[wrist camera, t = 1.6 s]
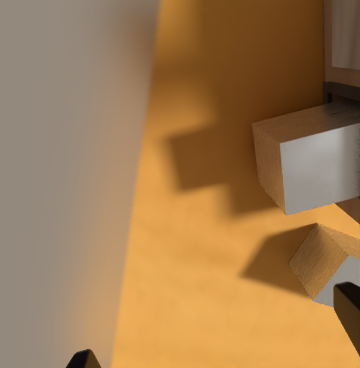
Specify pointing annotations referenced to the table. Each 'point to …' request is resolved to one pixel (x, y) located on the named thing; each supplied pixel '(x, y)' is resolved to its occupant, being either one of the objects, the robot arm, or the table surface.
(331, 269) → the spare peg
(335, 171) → the peg
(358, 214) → the socket block
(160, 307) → the table surface
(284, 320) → the table surface
